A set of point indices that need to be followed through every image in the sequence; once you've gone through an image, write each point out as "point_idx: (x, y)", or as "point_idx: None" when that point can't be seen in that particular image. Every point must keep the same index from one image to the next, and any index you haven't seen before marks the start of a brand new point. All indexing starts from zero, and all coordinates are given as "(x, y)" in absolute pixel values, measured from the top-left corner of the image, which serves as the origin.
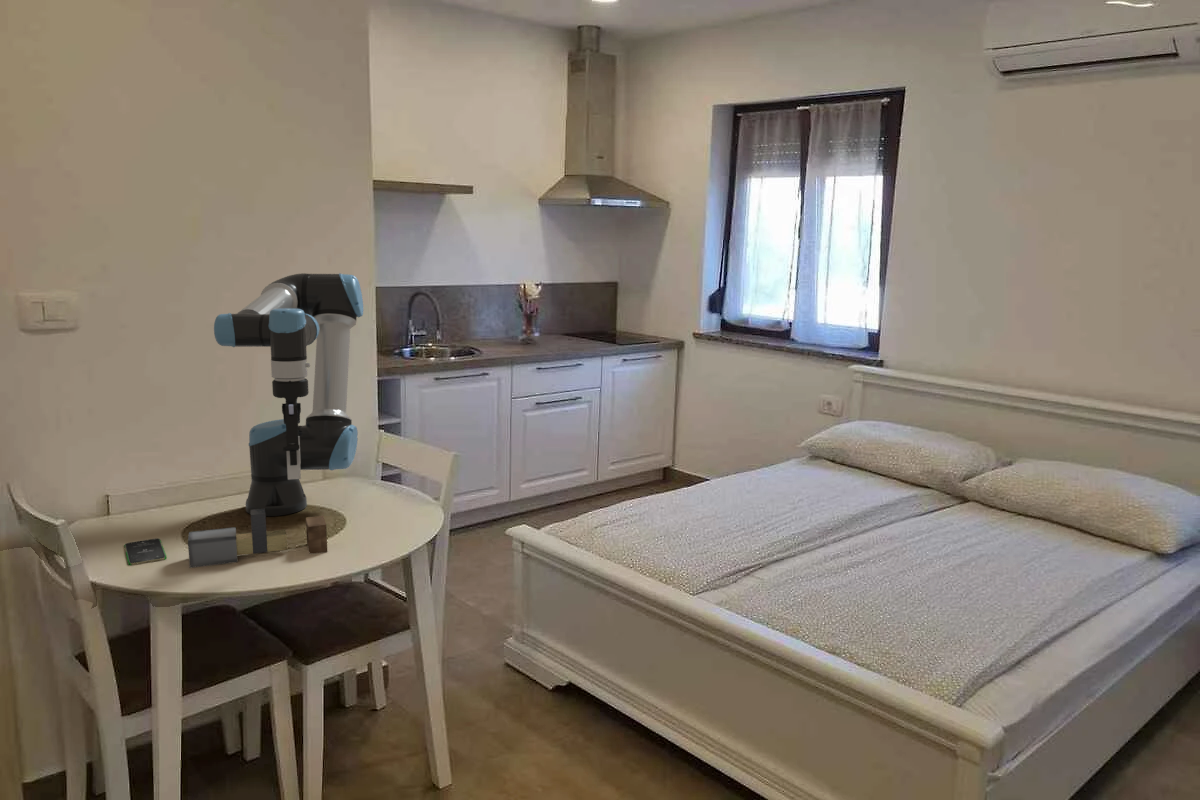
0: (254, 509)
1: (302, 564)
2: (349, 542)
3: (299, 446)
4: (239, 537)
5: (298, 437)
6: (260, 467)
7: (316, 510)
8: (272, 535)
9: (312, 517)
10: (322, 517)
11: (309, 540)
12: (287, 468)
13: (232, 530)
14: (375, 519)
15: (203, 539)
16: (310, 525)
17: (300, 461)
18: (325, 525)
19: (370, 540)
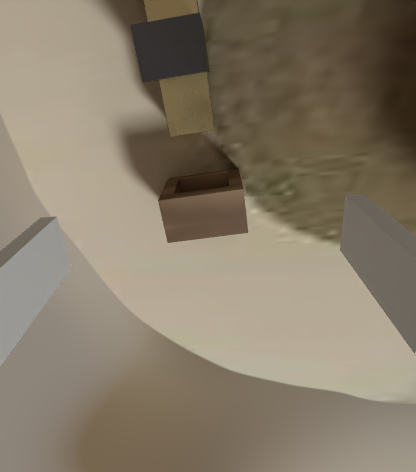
0: (200, 29)
1: (104, 167)
2: (228, 254)
3: (381, 303)
4: None
5: (412, 345)
6: None
7: None
8: (165, 97)
9: (239, 206)
10: (232, 231)
11: (163, 189)
12: (11, 243)
13: None
14: (365, 300)
15: None
16: (167, 205)
17: (344, 255)
18: (167, 240)
19: (230, 290)
